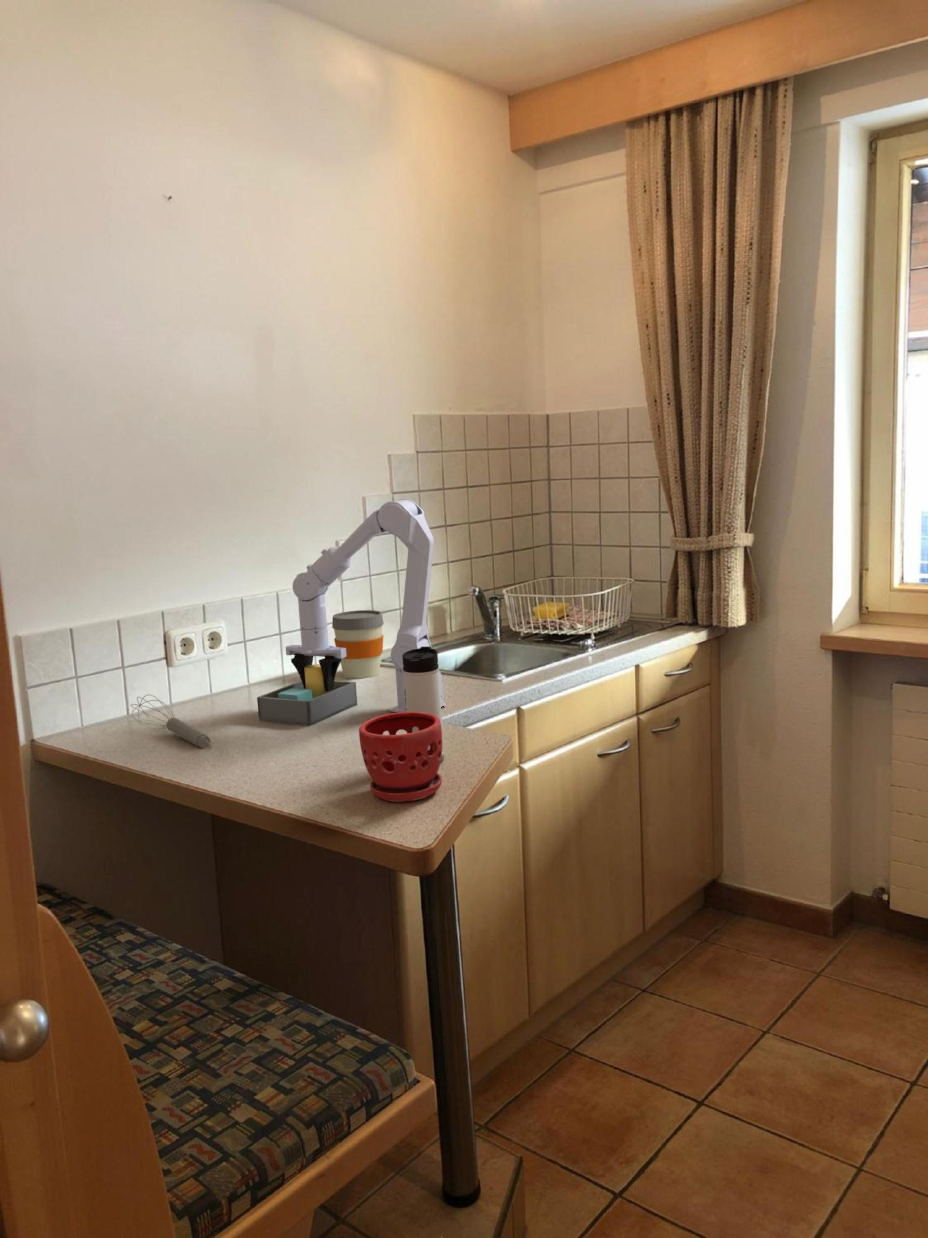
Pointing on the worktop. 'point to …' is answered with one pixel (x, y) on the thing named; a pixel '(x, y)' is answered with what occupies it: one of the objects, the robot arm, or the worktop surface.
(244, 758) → the worktop surface
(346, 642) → the reusable coffee cup
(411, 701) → the travel mug
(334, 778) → the worktop surface
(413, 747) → the plant pot
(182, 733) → the kitchen whisk
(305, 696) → the cube
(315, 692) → the cylinder
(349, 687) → the tote
